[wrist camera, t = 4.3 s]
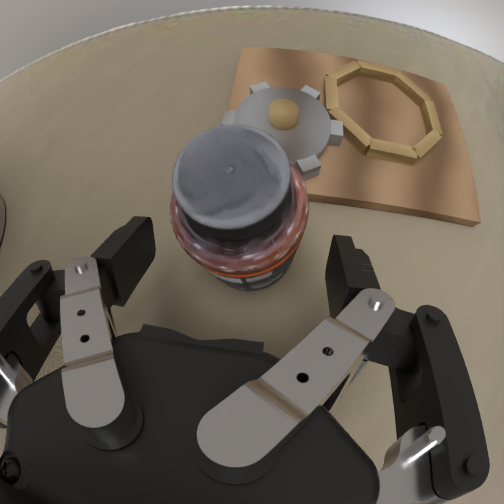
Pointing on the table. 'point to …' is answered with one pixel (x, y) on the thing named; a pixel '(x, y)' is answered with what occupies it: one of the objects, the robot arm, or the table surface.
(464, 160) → the board
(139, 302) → the table surface
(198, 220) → the supplement bottle
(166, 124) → the table surface
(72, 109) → the table surface
